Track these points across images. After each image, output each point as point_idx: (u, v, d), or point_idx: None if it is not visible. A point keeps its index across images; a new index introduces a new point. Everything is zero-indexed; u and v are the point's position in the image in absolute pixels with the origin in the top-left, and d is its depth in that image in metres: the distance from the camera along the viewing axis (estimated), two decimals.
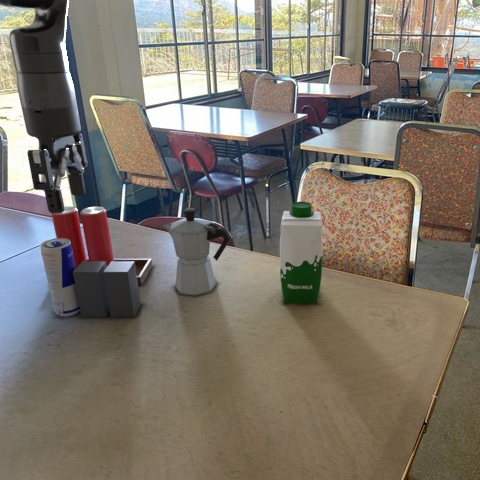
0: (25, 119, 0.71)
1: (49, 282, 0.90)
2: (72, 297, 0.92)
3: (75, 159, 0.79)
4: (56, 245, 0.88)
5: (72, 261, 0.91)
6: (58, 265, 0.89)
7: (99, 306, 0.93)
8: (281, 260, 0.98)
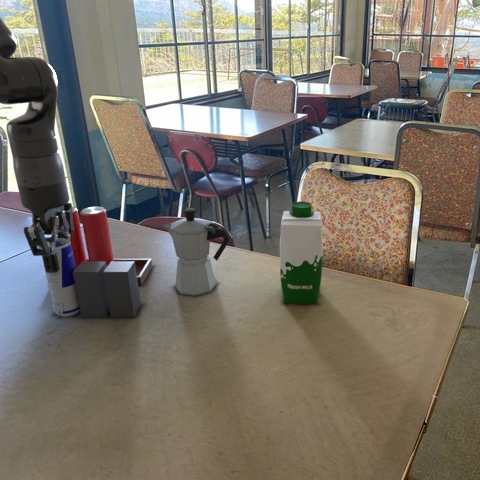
0: (20, 194, 0.83)
1: (49, 282, 0.90)
2: (72, 297, 0.92)
3: (63, 225, 0.89)
4: (56, 245, 0.88)
5: (72, 261, 0.91)
6: None
7: (99, 306, 0.93)
8: (281, 260, 0.98)
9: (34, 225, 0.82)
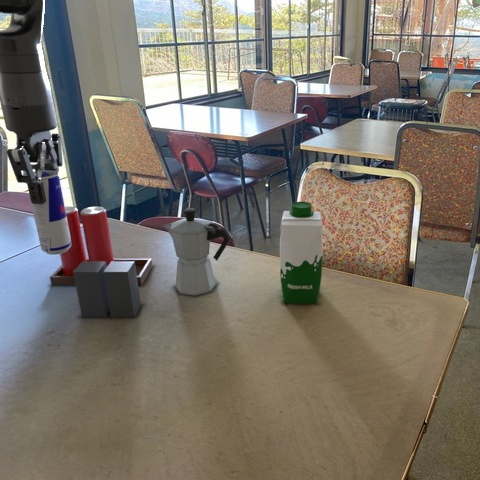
0: (4, 115, 0.77)
1: (35, 216, 0.85)
2: (59, 233, 0.87)
3: (50, 154, 0.84)
4: (43, 175, 0.83)
5: (60, 194, 0.86)
6: None
7: (99, 306, 0.93)
8: (281, 260, 0.98)
9: (18, 148, 0.77)
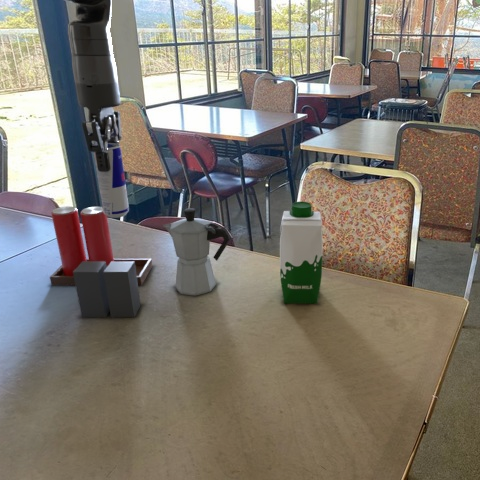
0: (78, 92, 0.89)
1: (100, 182, 0.97)
2: (120, 198, 0.99)
3: (114, 128, 0.96)
4: (108, 146, 0.95)
5: (121, 163, 0.98)
6: None
7: (99, 306, 0.93)
8: (281, 260, 0.98)
9: (91, 120, 0.89)
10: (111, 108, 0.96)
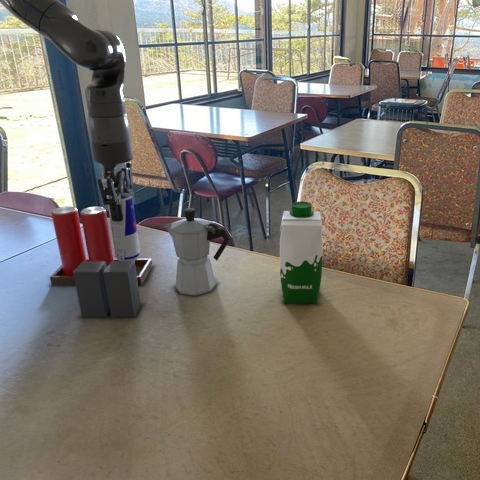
0: (93, 150, 0.95)
1: (113, 231, 1.03)
2: (132, 244, 1.05)
3: (126, 180, 1.02)
4: (121, 197, 1.01)
5: (133, 212, 1.03)
6: None
7: (99, 306, 0.93)
8: (281, 260, 0.98)
9: (106, 177, 0.94)
10: None
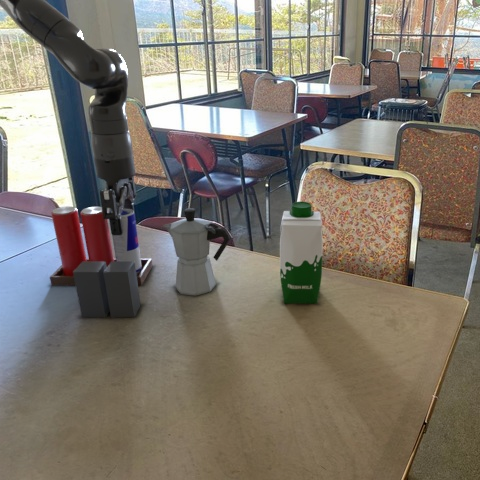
0: (96, 166, 0.96)
1: (115, 246, 1.04)
2: (134, 259, 1.06)
3: (129, 193, 1.04)
4: (123, 213, 1.02)
5: (135, 228, 1.05)
6: (124, 231, 1.03)
7: (99, 306, 0.93)
8: (281, 260, 0.98)
9: (108, 189, 0.96)
10: None
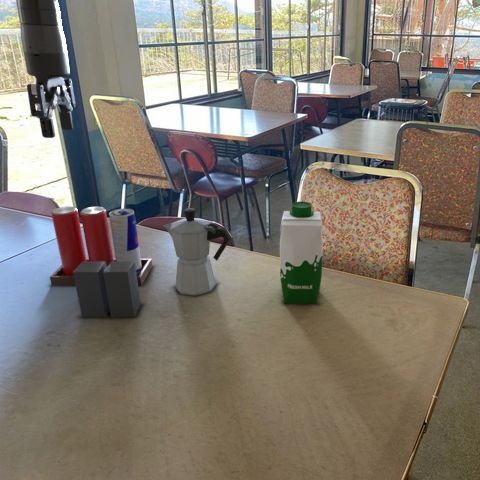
0: (26, 61, 0.92)
1: (116, 246, 1.04)
2: (134, 259, 1.06)
3: (65, 98, 0.99)
4: (123, 213, 1.02)
5: (135, 228, 1.05)
6: (124, 231, 1.03)
7: (99, 306, 0.93)
8: (281, 260, 0.98)
9: None
10: (61, 79, 0.98)
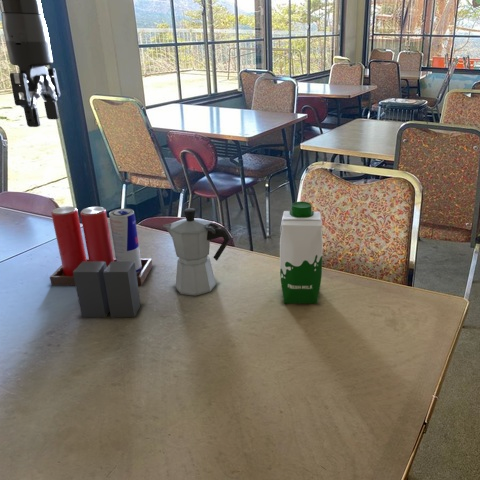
0: (8, 50, 0.92)
1: (116, 246, 1.04)
2: (134, 259, 1.06)
3: (49, 87, 1.00)
4: (123, 213, 1.02)
5: (135, 228, 1.05)
6: (124, 231, 1.03)
7: (99, 306, 0.93)
8: (281, 260, 0.98)
9: None
10: (45, 68, 0.99)
